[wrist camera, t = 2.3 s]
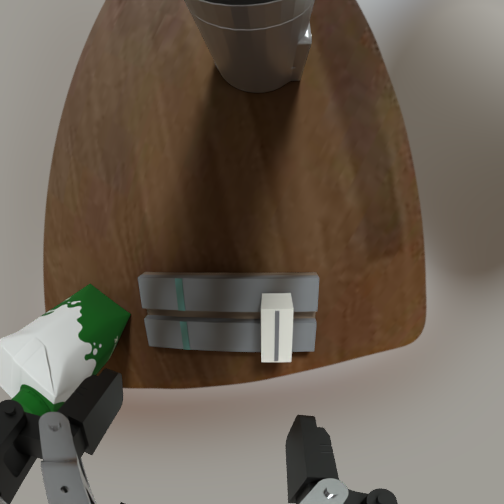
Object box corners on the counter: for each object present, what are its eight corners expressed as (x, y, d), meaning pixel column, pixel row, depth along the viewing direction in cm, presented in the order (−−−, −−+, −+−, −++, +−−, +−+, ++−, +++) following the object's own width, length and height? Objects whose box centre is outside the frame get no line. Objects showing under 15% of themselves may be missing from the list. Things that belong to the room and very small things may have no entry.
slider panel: (316, 272, 32) (319, 278, 30) (311, 341, 34) (314, 351, 32) (145, 271, 33) (137, 277, 31) (155, 337, 35) (148, 346, 33)
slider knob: (289, 289, 31) (293, 309, 26) (288, 337, 33) (291, 362, 28) (262, 289, 32) (260, 309, 26) (262, 337, 33) (261, 362, 28)
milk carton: (118, 355, 37) (44, 449, 17) (71, 319, 36) (-18, 391, 16) (139, 312, 35) (48, 412, 15) (86, 273, 34) (-24, 339, 15)
